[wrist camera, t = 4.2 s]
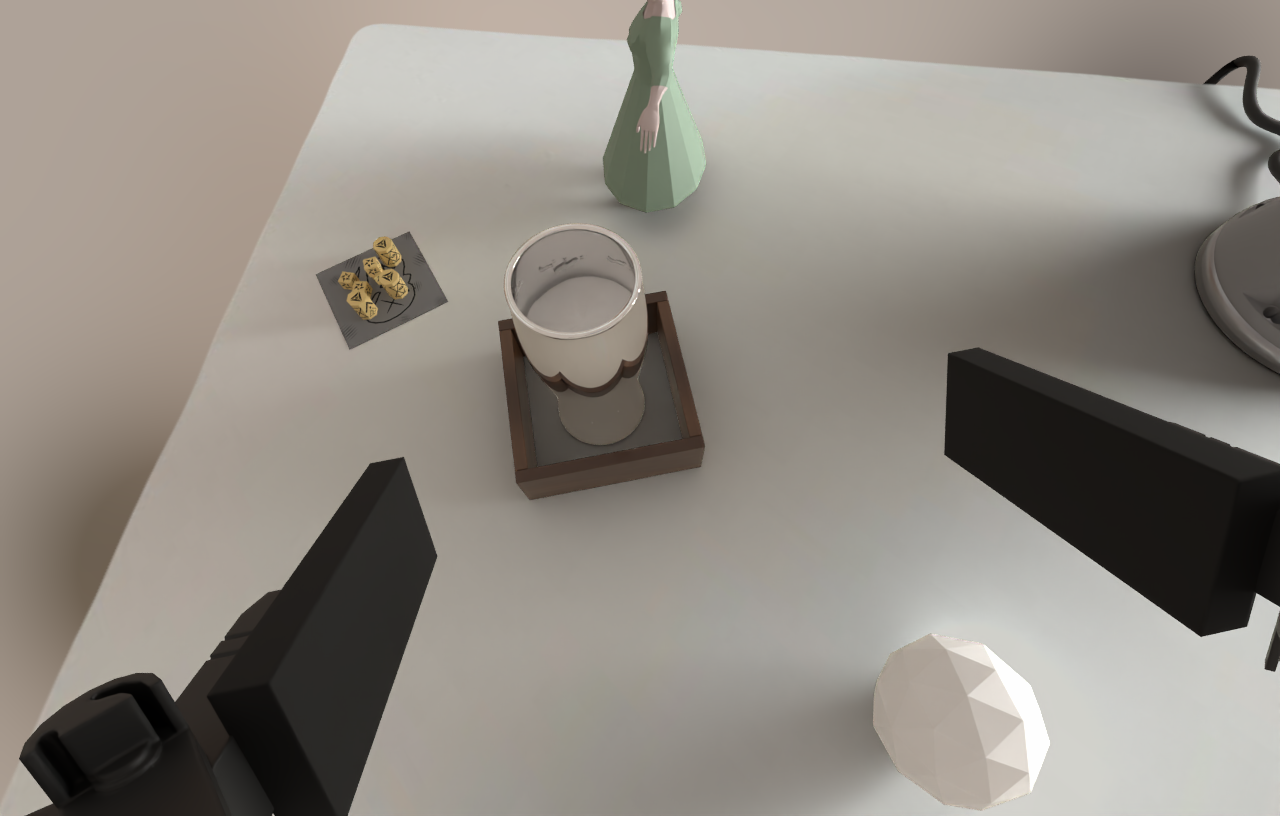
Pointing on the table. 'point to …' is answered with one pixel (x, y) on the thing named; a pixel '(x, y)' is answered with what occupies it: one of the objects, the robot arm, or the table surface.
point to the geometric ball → (959, 722)
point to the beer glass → (583, 326)
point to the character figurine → (654, 121)
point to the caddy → (607, 465)
